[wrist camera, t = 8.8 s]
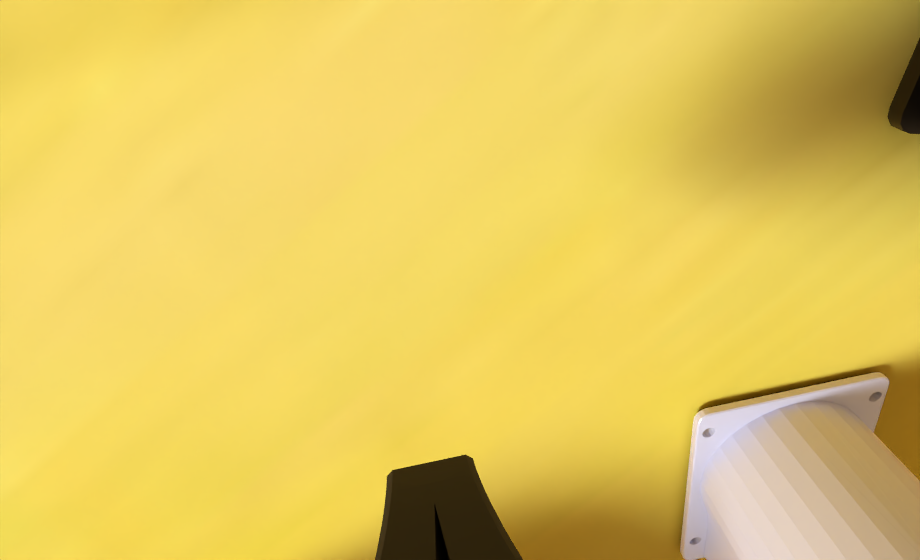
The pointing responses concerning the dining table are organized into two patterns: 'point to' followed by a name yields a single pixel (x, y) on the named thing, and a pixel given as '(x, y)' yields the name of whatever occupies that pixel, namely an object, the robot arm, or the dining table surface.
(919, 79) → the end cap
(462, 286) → the dining table surface
